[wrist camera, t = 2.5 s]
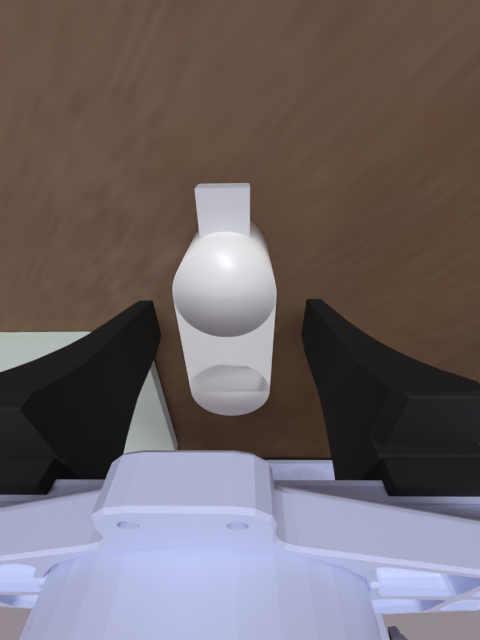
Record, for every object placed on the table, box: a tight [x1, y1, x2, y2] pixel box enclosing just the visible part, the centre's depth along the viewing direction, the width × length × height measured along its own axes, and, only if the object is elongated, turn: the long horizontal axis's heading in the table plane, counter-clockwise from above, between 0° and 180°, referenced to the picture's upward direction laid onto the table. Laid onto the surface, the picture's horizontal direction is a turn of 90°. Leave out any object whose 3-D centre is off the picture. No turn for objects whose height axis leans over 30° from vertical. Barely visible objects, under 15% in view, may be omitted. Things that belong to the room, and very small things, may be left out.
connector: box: [172, 183, 276, 416], centre depth 12 cm, size 10×4×4 cm, turn 1°
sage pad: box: [0, 332, 178, 454], centre depth 18 cm, size 12×10×1 cm
